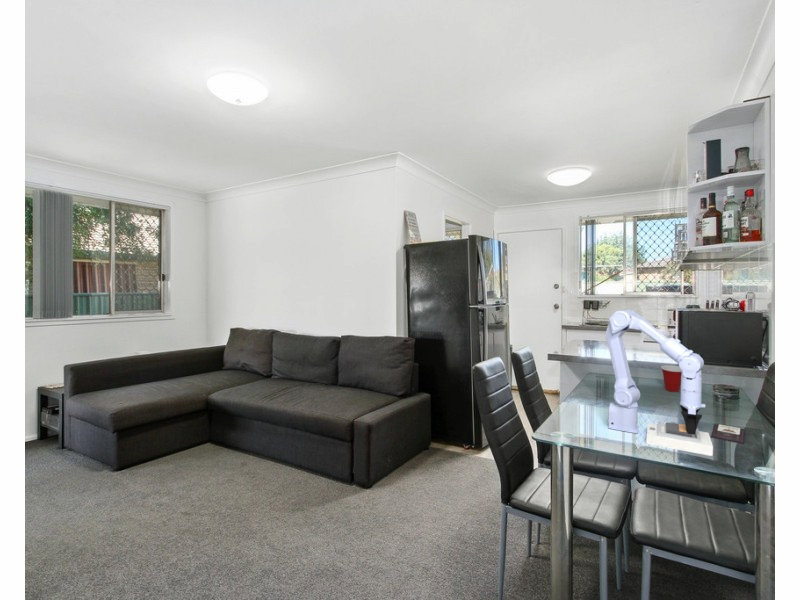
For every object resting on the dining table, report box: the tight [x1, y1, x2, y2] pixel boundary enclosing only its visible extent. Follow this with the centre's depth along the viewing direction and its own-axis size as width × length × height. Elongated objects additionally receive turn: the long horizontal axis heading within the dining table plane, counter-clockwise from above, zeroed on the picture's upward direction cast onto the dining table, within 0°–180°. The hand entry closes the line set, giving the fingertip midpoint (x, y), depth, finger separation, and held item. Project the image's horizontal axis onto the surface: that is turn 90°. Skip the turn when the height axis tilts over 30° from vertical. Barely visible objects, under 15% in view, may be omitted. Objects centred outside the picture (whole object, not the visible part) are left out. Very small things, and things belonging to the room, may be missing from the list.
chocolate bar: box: [710, 423, 746, 445], centre depth 152 cm, size 9×1×18 cm
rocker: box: [665, 422, 692, 437], centre depth 143 cm, size 7×9×2 cm
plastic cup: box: [660, 364, 682, 393], centre depth 214 cm, size 11×11×12 cm
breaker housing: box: [645, 421, 714, 457], centre depth 143 cm, size 18×15×4 cm
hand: (690, 430), depth 141 cm, fingers open, 7 cm apart
